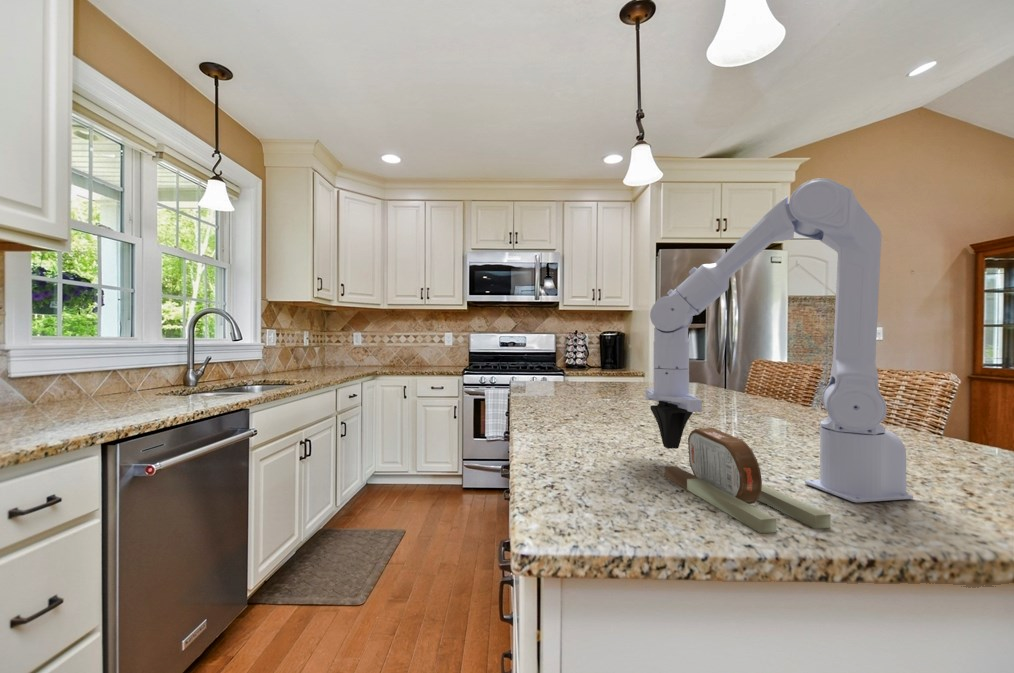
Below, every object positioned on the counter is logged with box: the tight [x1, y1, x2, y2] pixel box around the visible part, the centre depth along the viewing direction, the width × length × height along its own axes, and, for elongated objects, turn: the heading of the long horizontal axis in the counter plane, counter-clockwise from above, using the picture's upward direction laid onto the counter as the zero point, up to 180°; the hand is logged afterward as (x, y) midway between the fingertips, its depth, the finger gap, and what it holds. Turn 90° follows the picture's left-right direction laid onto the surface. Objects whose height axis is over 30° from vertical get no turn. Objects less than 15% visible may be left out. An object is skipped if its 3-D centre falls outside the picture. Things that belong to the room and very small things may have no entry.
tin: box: [687, 427, 763, 505], centre depth 60 cm, size 15×3×8 cm, turn 2°
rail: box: [664, 465, 832, 534], centre depth 58 cm, size 9×20×2 cm, turn 10°
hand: (671, 447), depth 74 cm, fingers closed
